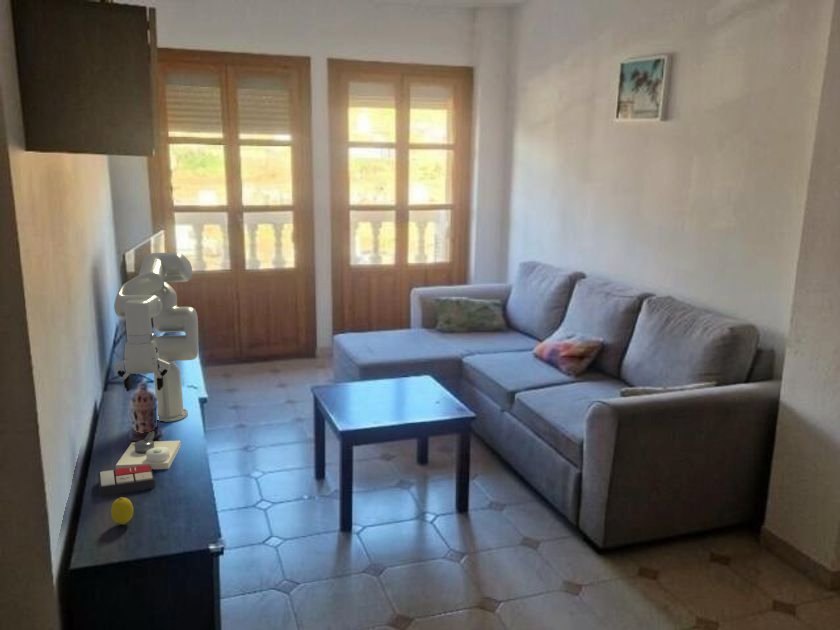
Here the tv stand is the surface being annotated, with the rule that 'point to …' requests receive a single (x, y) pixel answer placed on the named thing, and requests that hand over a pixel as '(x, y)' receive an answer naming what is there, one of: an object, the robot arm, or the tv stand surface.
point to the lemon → (122, 510)
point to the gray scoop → (145, 444)
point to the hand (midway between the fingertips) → (144, 389)
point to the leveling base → (141, 458)
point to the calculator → (125, 480)
